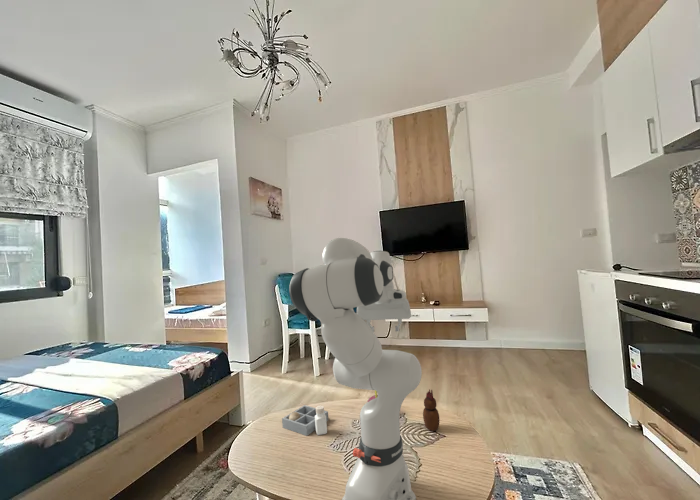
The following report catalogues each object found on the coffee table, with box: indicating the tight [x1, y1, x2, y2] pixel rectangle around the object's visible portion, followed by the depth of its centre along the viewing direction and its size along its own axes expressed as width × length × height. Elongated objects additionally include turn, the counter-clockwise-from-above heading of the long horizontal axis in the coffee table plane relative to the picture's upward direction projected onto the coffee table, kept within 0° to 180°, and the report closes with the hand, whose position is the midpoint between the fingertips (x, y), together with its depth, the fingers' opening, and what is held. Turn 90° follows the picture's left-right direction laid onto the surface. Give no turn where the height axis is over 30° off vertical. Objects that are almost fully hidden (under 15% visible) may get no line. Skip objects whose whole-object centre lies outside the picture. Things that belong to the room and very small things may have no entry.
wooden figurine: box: [422, 389, 441, 431], centre depth 121 cm, size 7×6×15 cm
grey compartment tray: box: [281, 404, 329, 437], centre depth 130 cm, size 13×13×4 cm
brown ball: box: [289, 411, 300, 421], centre depth 130 cm, size 5×5×5 cm
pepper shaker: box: [315, 405, 328, 436], centre depth 123 cm, size 4×4×10 cm
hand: (384, 331), depth 119 cm, fingers open, 8 cm apart
